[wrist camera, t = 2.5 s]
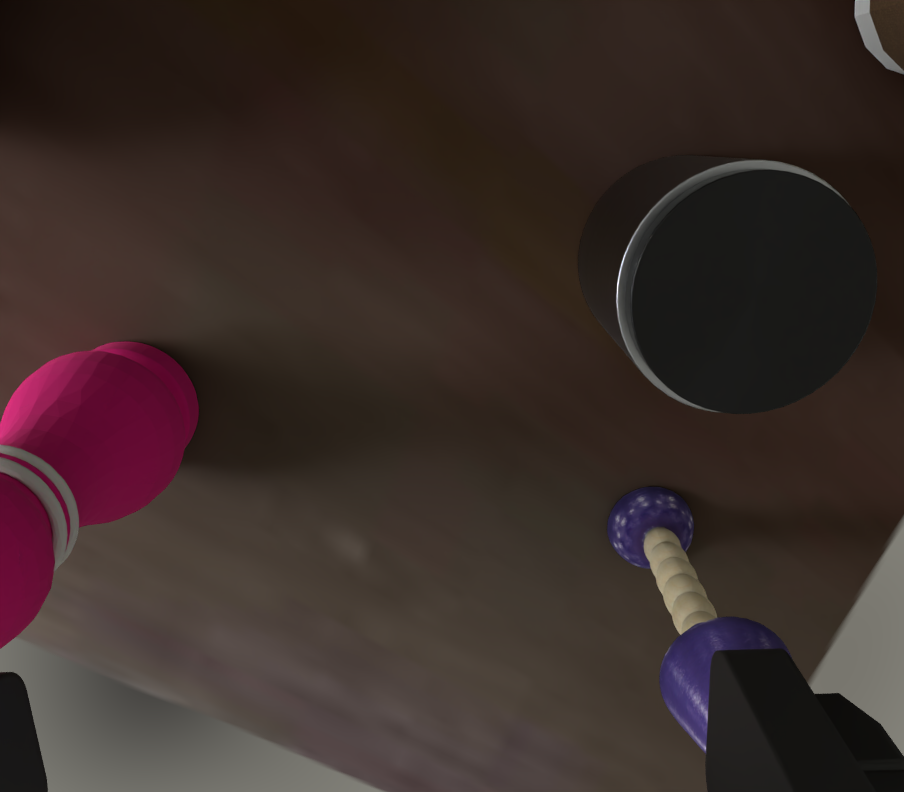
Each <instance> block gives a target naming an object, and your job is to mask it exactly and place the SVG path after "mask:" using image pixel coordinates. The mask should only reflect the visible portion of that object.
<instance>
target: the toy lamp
mask: <svg viewBox="0 0 904 792" xmlns="http://www.w3.org/2000/svg"><path fill="white" fill-rule="evenodd" d="M607 525H608V527H607V532H608V536H609V540H610V542H611V544H612V546H613V547H614V549H615V550H616V552H617V553H618V554H619V555H620V556H621V557H622V558H624V559H625V560H626V561H628V562H629V563H631V564H633V565H635V566H638V567H642V568H649V569H651V570H652V572H653V574H654V575H655V577H656V581H657V585H658V588H659V590H660V591H661V593H662V594H663V597H664V602H665V605H666V607H667V609H668V611H669V612H670V613H671V615H672V618H673V622H674V625H675V627H676V629H677V631H678V632H679V633H680V634H681V635H680V636H679V637H677V639H676V640H675V641H674V642H673V644H672V645H671V646H670V647H669V650H668V652H667V653H666V654H665V656H664V659H663V661H662V665H661V670H660V689H661V693H662V696H663V699H664V701H665V703H666V705H667V707H668V709H669V711H670V712H671V714H672V715H673V716H674V718H675V719H676V720H677V721H678V723H679V724H680V725H681V726H682V727H683V728H684V730H685V731H686V732H687V733H688V734H689V735H690V736H691V737H692V739H693V740H694V741H695V742H696V743H697V744H698V746H699V747H700V748H701V749H702V750H703V751H704V752H705V754H706V742H707V722H708V703H709V684H710V667H711V660H712V656H713V654H714V652H715V651H718V650H747V649H777V648H782V649H784V650H785V651H786V652H787V653H788V654H789V655H790V653H789V651H788V649H787V647H786V646H785V644H784V643H783V641H782V640H781V639H780V638H779V637H778V636H777V635H776V634H775V633H774V632H772V631H771V630H770V629H768V628H766V627H765V626H764V625H762V624H760V623H758V622H754V621H752V620H749V619H746V618H739V617H722V618H719V617H718V618H717V615H716V611H715V609H714V607H713V605H712V604H711V602H710V601H709V600H708V599H707V596H706V592H705V590H704V588H703V586H702V585H701V583H700V582H699V581H698V577H697V574H696V572H695V570H694V568H693V567H692V565H691V564H690V563H689V560H688V557H687V555H686V553H685V552H686V551H687V549H688V547H689V546H690V544H691V541H692V537H693V531H694V522H693V517H692V513H691V510H690V509H689V507H688V505H687V503H686V502H685V501H684V500H683V499H682V497H681V496H679V495H677V494H676V493H674V492H673V491H671V490H668V489H665V488H661V487H644V488H639V489H637V490H634V491H632V492H630V493H629V494H626V495H625V496H623V497H622V498H621V499H620V500H619V501H618V502H617V503H616V505H615V506H614V508H613V509H612V511H611V514H610V516H609V519H608V524H607ZM790 657H791V655H790ZM791 658H792V657H791ZM792 660H793V659H792Z"/></svg>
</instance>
